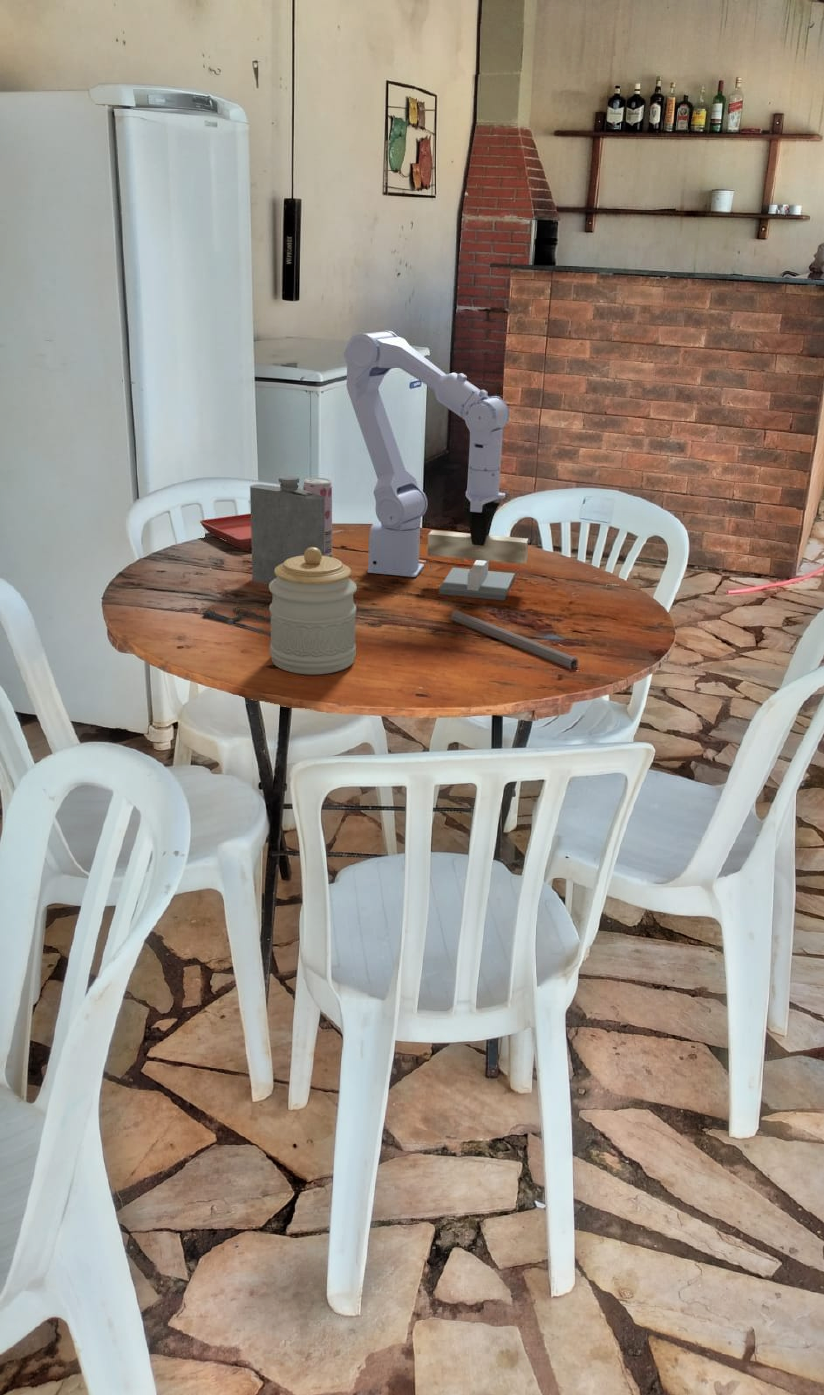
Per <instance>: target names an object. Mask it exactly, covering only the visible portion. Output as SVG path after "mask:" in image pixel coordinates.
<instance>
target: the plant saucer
mask: <svg viewBox="0 0 824 1395" xmlns="http://www.w3.org/2000/svg"><path fill="white" fill-rule="evenodd" d="M199 523H200V524H201V526H202V527H203V528H204V530H206V531H207V532H208V533H209V534H210V536H213V537H214V538H215V537H216V538H218V539H219V538H222V539H224V540H226V541H227V542H226V541H225V542H226V543H228V542H229V543H228V544H230V543H231V544H230V545H232V544H233V545H232V546H234V545H235V546H234V547H236V546H237V547H236V548H238V547H239V549H240V548H241V549H240V550H242V549H248V550H251V549H250V548H252V542H251V513H245V514H243V513H242V514H237V515H230V516H224V517H216V518H207V519H201V520H199ZM236 533H237V534H236ZM230 534H234V535H230Z"/></svg>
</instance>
